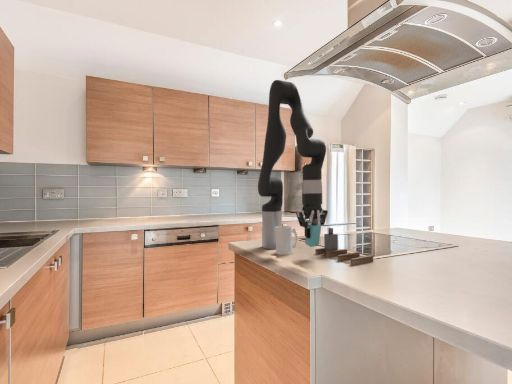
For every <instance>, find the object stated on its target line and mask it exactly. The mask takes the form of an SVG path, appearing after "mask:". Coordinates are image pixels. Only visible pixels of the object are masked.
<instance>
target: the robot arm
mask: <svg viewBox="0 0 512 384" xmlns="http://www.w3.org/2000/svg"><path fill="white" fill-rule="evenodd" d="M268 94H269V95H268V110H267V111H268V112H267V113H268V115H267V124H266V132H265V138H264V148H263V155H262V164H261V168H260V172H259V173H260V174H259V177H258V183H257V193H258V195H259V196H260V197H263V198H264V197H265V198H266V197H269V198H270V200H269V201H267V202H266V203H263V204H262V206H261V220H262V221H261V224H262V225H261V244H262V245H261V246H262V249H266V250H276V235H275V227H276V226H283V224H282V223H283V222H282V221H283V219H282V217H283V216H282V213H283V212H282V207H283V201H284V198H283V196H284V195H283V194H284V185H283V184H284V183H283V181H282V179H281V178H280V177H279V176H278V177H277V176H271V175H272V170H273V168H274V167H275V165H276V163H277V162H278V161H279V160H280V158H281V156H283V154H284V151H285V148H286V142H287V134H286V132H287V131H286V129H285V126H284V125H283V121H282V120H281V119H282V118H281V105H288V106H289V108H290V109H291V114H290V119H289V122H290V123H289V124H290V126H291V130H292V131H293V134H294V136H295V141H296V150H297V153H298V154H299V155H300V156H301V157H303V158H309V159H311V161H310V162H309V163H307V164H304V165H303V166H302V183H301V204H302V208H301V210H299V211H296V212H295V215H296V218H297V221H298V225H299V227H302V228H304V237H305V239H306V238H310V225H311V223H312V219H313V218H317V224H319V225H321V227H322V226H325V223H326V219H327V215H328V213H329V212H328V210H326V209H323V208H322V205H323V181H322V175H323V174H322V169H323V165H324V161H325V158H326V153H327V146H326V144H325V142H324V140H322V139H319V138H312V137H313V135H314V129H313V127H312V125H311V123H310V121H309V118H308V117H307V115H306V113H305V109H304V107H303V106H304V105H303V103H302V102H303V101H302V99H301V95H300V93H299V89H298V87H297V85H296V84H295V83H294V82H291V81H286V80H281V79H275V80H273V81H272V83H271V85H270V89H269V93H268Z"/></svg>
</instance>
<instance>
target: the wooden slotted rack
mask: <svg viewBox="0 0 512 384" xmlns="http://www.w3.org/2000/svg"><path fill="white" fill-rule="evenodd" d="M314 250H315V255H316V256H320V257H324V258H327V259H330V260H333V261H337V262H339V263H343V264H345V265H349V266H358V265H363V264H367V263H368V264H369V263H372V262H374V255H373V254H369V255H364V256H360V252H359V251H354V252H349V253H348V248H343V249H338V250H336V251H329V252H326V254H325V247H321V248H315V249H314Z"/></svg>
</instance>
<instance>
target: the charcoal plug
mask: <svg viewBox="0 0 512 384" xmlns="http://www.w3.org/2000/svg"><path fill="white" fill-rule="evenodd" d="M327 231H328V233H324V235H323V236H324V239H323V241H324V243H323V244H324V245H323V246H324V248H325V254H326V252H329V251H336V250H339V247H338V246H339V244H338V243H339V242H338V238H339V237H338V234H337V233H334V228H333V227H328V230H327Z"/></svg>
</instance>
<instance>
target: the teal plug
mask: <svg viewBox="0 0 512 384" xmlns="http://www.w3.org/2000/svg"><path fill="white" fill-rule="evenodd" d="M321 230H322V226H321V225H319V224H317V218H313V219H312V222H311V225H310V238H306V237H305V241H304V243H305V245H307V246H309V247H310V248H312V247H313V248H315V247H319V245H320V244H319V243H320V237H321Z"/></svg>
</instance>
